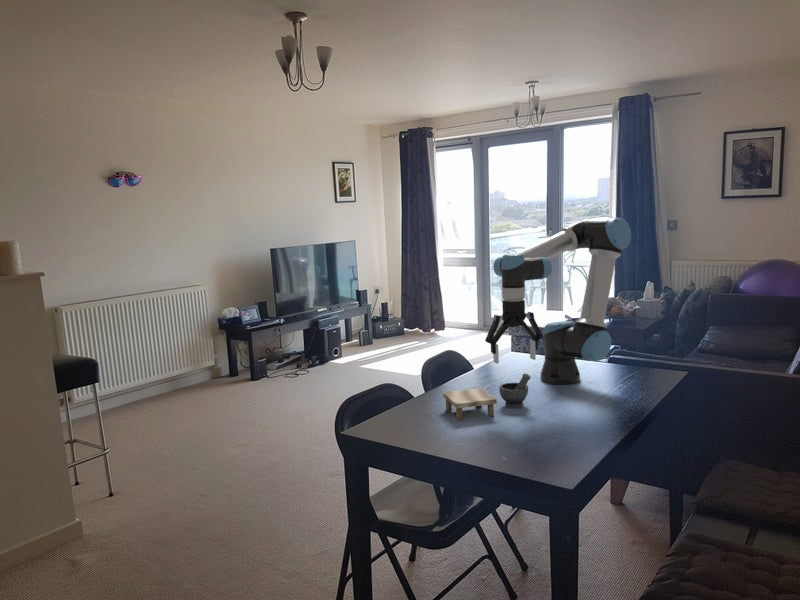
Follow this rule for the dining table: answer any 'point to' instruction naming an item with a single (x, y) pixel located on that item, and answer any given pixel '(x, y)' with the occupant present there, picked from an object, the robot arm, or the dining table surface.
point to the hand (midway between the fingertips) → (514, 360)
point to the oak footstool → (469, 400)
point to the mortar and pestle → (515, 392)
